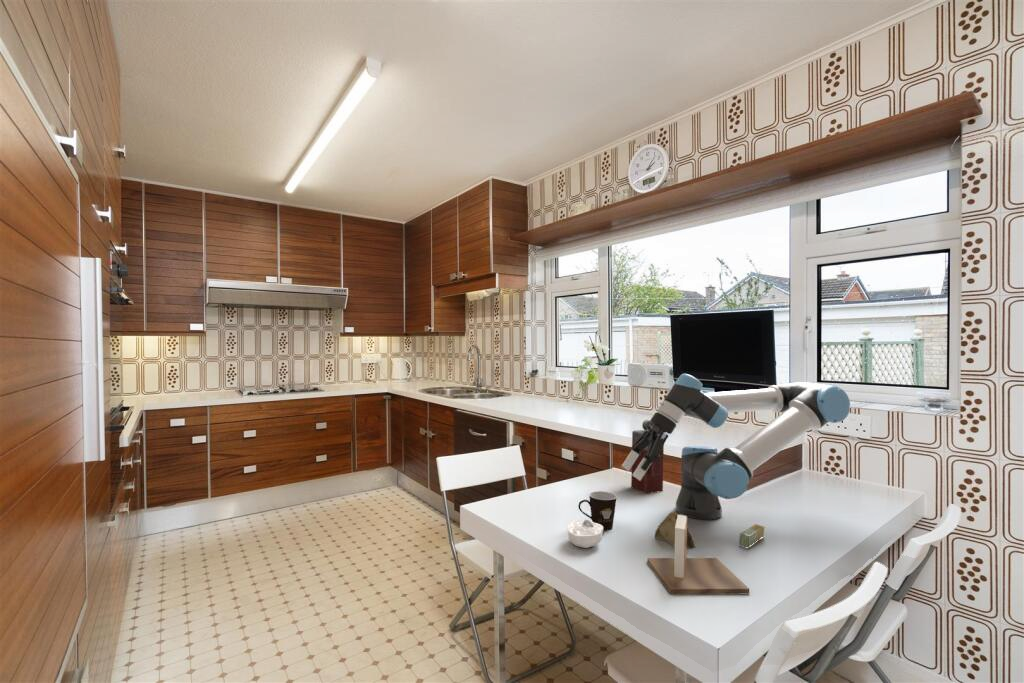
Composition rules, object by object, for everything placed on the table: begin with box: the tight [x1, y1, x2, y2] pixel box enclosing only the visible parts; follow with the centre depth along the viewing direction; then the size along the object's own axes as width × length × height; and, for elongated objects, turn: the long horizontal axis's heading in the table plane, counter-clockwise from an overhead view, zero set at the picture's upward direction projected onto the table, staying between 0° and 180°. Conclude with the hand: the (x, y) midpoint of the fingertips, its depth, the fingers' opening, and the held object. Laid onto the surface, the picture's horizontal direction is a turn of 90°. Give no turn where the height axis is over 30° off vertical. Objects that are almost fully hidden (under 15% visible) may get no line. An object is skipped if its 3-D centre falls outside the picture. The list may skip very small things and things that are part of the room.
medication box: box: [738, 523, 765, 548], centre depth 141 cm, size 12×3×4 cm, turn 132°
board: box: [646, 557, 750, 595], centre depth 118 cm, size 19×16×1 cm
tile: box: [673, 514, 688, 578], centre depth 120 cm, size 2×10×12 cm, turn 157°
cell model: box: [567, 518, 604, 549], centre depth 136 cm, size 10×12×7 cm
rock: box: [654, 511, 696, 549], centre depth 140 cm, size 11×9×10 cm
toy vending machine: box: [630, 419, 665, 494], centre depth 190 cm, size 9×11×28 cm
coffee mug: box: [577, 490, 618, 532], centre depth 150 cm, size 12×9×10 cm
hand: (630, 473), depth 149 cm, fingers open, 13 cm apart
